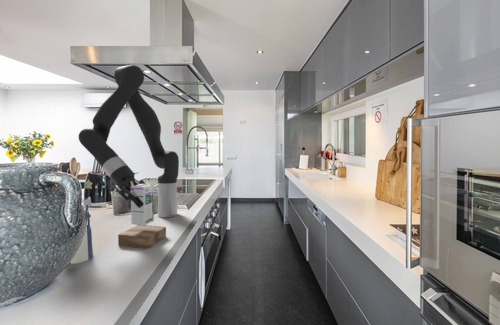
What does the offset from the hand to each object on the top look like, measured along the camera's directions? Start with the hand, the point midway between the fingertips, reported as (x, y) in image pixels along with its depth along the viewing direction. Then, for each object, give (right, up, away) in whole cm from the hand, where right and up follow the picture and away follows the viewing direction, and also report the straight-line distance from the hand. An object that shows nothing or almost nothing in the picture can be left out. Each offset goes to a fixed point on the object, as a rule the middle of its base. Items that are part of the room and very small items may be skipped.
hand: (146, 204), depth 96 cm
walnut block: (-2, -14, +1) cm, 14 cm away
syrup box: (-2, -7, +1) cm, 8 cm away
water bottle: (-16, -15, -14) cm, 26 cm away
